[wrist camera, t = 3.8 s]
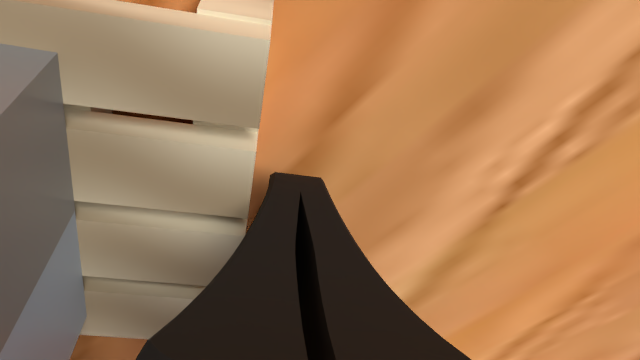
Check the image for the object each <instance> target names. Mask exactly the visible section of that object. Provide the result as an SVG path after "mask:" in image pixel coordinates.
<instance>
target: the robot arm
mask: <svg viewBox="0 0 640 360" xmlns="http://www.w3.org/2000/svg"><path fill="white" fill-rule="evenodd" d="M136 360H471V359H470V358H468V357H467V356H466V355H464V354H463V353H462V352H461V351H459V350H458V349H457V348H455V347H454V346H453V345H451V344H450V343H449V342H447V341H446V340H445V339H443V338H442V337H441V336H440V335H438V334H437V333H436V332H435V331H434V330H433V329H432V328H430V327H429V326H428V325H427V324H426V323H425V322H424V321H422V320H421V319H420V318H419V317H418V316H417V315H416V314H415V313H414V312H413V311H412V310H411V309H410V308H409V307H408V306H407V305H406V304H405V303H404V302H403V301H402V300H401V299H400V298H399V297H398V296H397V295H396V294H395V293H394V292H393V291H392V290H391V288H390V287H389V286H388V285H387V284H386V283H385V281H384V280H383V279H382V278H381V277H380V275H379V274H378V273H377V272H376V270H375V269H374V268H373V266H372V265H371V264H370V262H369V261H368V260H367V258H366V257H365V255H364V254H363V252H362V251H361V249H360V248H359V246H358V245H357V243H356V242H355V240H354V239H353V237H352V235H351V234H350V232H349V230H348V229H347V227H346V225H345V223H344V222H343V220H342V218H341V216H340V215H339V213H338V211H337V209H336V207H335V205H334V203H333V201H332V199H331V197H330V195H329V193H328V190H327V188H326V186H325V183H324V181H323V180H322V179H321V178H319V177H310V176H302V175H294V174H285V173H277V172H275V173H273V174H272V175H270V180H269V187H268V190H267V193H266V196H265V198H264V201H263V203H262V205H261V207H260V209H259V211H258V213H257V215H256V217H255V219H254V221H253V223H252V225H251V227H250V228H249V230H248V232H247V233H246V235H245V236H244V238H243V240H242V241H241V243H240V244H239V246H238V247H237V249H236V250H235V252H234V253H233V255H232V256H231V257H230V259H229V260H228V261H227V263H226V264H225V265H224V266H223V268H222V269H221V270H220V271H219V272H218V274H217V275H216V276H215V277H214V278H213V280H212V281H211V282H210V283H209V284H208V285H207V286H206V288H205V289H204V290H203V291H202V292H201V293H200V294H199V295H198V296H197V297H196V298H195V299H194V300H193V301H192V302H191V303H190V304H189V305H188V306H187V307H186V308H185V309H184V310H183V311H182V312H180V313H179V314H178V315H177V316H176V317H175V318H174V319H173V320H171V321H170V322H169V323H168V324H167V325H165V326H164V327H163V328H162V329H160V330H159V331H158V332H157V333H156V334H154V335H153V336H152V337H151V338H150V339H148V340H147V342H146V344H145V345H144V347H143V348H142V350H141V352H140V353H139V355H138V356H137V358H136Z"/></svg>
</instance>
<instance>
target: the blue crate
mask: <svg viewBox="0 0 640 360" xmlns="http://www.w3.org/2000/svg"><path fill="white" fill-rule="evenodd" d="M86 317H87V313H86V304H85V295H84V286H83V277H82V269H81V260H80V251H79V242H78V233H77V224H76V215H75V211H74V213H73V215H72V217H71V219H70V221H69V223H68V225H67V227H66V229H65V231H64V232H63V234H62V236H61V238H60V240H59V242H58V244H57V246H56V248H55V250H54V252H53V254H52V255H51V257H50V259H49V261H48V263H47V265H46V267H45V269H44V271H43V273H42V275H41V276H40V278H39V280H38V282H37V284H36V286H35V288H34V290H33V292H32V294H31V296H30V298H29V299H28V301H27V303H26V305H25V307H24V309H23V311H22V313H21V315H20V317H19V319H18V320H17V322H16V324H15V326H14V328H13V330H12V332H11V334H10V336H9V338H8V340H7V342H6V343H5V345H4V347H3V349H2V351H1V353H0V360H70V357H71V355H72V352H73V350H74V347H75V345H76V342H77V340H78V337H79V334H80V332H81V329H82V327H83V324H84V322H85V319H86Z"/></svg>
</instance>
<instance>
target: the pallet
mask: <svg viewBox="0 0 640 360" xmlns="http://www.w3.org/2000/svg"><path fill="white" fill-rule="evenodd" d="M273 5H274V0H201V1H200V3H199V5H198V7H197V13H191V12H185V11H179V10H172V9H166V8H160V7H154V6H147V5H141V4H135V3H129V2H122V1H116V0H0V43H1V44H7V45H13V46H19V47H26V48H32V49H38V50H44V51H50V52H56V53H58V62H59V70H60V79H61V88H62V97H63V106H64V115H65V124H66V133H67V142H68V151H69V159H70V168H71V177H72V186H73V195H74V204H75V215H76V224H77V233H78V242H79V251H80V260H81V269H82V277H83V286H84V295H85V304H86V313H87V317H86V319H85V322H84V324H83V327H82V329H81V332H80V334H79V335H90V336H105V337H120V338H135V339H150V338H151V337H152V336H153V335H154V334H156V333H157V332H158V331H159V330H160V329H162V328H163V327H164V326H165V325H167V324H168V323H169V322H170V321H171V320H173V319H174V318H175V317H176V316H177V315H178V314H179V313H180V312H182V311H183V310H184V309H185V308H186V307H187V306H188V305H189V304H190V303H191V302H192V301H193V300H194V299H195V298H196V297H197V296H198V295H199V294H200V293H201V292H202V291H203V290H204V289H205V288H206V286H207V285H208V284H209V283H210V282H211V281H212V280H213V278H214V277H215V276H216V275H217V274H218V272H219V271H220V270H221V269H222V268H223V266H224V265H225V264H226V263H227V261H228V260H229V259H230V257H231V256H232V255H233V253H234V252H235V250H236V249H237V247H238V246H239V244H240V243H241V241H242V240H243V238H244V236H245V235H246V227H247V219H248V213H249V205H250V197H251V189H252V181H253V173H254V165H255V157H256V149H257V139H258V129H259V126H260V118H261V110H262V102H263V94H264V86H265V78H266V70H267V63H268V55H269V47H270V38H271V26H272V17H273ZM112 110H118V111H125V112H133V113H141V114H148V115H156V116H164V117H172V118H179V119H187V120H193V124H186V123H179V122H171V121H163V120H155V119H147V118H140V117H132V116H124V115H116V114H113V112H112Z"/></svg>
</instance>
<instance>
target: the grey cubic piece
mask: <svg viewBox="0 0 640 360" xmlns="http://www.w3.org/2000/svg"><path fill="white" fill-rule="evenodd" d="M74 211H75V204H74V195H73V186H72V177H71V168H70V159H69V151H68V142H67V133H66V124H65V115H64V106H63V97H62V88H61V79H60V70H59V62H58V53H56V52H50V51H44V50H38V49H32V48H26V47H19V46H13V45H7V44H1V43H0V353H1V351H2V349H3V347H4V345H5V343H6V342H7V340H8V338H9V336H10V334H11V332H12V330H13V328H14V326H15V324H16V322H17V320H18V319H19V317H20V315H21V313H22V311H23V309H24V307H25V305H26V303H27V301H28V299H29V298H30V296H31V294H32V292H33V290H34V288H35V286H36V284H37V282H38V280H39V278H40V276H41V275H42V273H43V271H44V269H45V267H46V265H47V263H48V261H49V259H50V257H51V255H52V254H53V252H54V250H55V248H56V246H57V244H58V242H59V240H60V238H61V236H62V234H63V232H64V231H65V229H66V227H67V225H68V223H69V221H70V219H71V217H72V215H73V213H74Z"/></svg>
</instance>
